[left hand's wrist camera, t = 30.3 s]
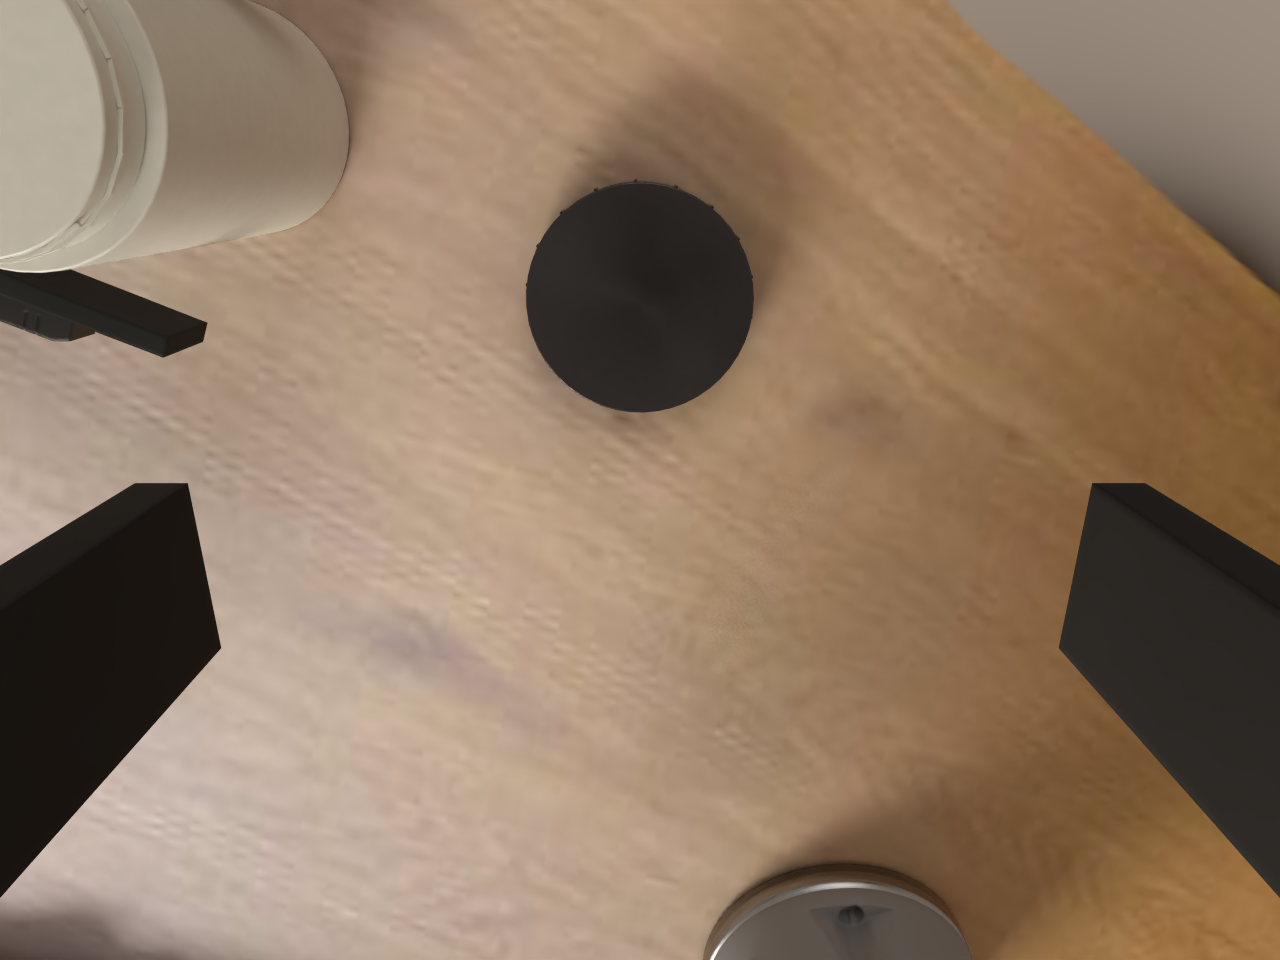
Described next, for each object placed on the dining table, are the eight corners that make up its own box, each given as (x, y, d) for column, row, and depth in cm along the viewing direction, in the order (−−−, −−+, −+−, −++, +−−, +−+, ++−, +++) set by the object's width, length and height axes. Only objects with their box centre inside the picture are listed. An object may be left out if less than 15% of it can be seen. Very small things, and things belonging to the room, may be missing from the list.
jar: (83, 83, 32) (-361, 16, 18) (250, -53, 30) (-92, -245, 16) (232, 273, 35) (-53, 348, 20) (393, 158, 33) (206, 151, 19)
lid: (487, 261, 34) (478, 266, 33) (677, 133, 33) (680, 131, 31) (606, 438, 37) (604, 452, 35) (788, 329, 35) (796, 338, 34)
